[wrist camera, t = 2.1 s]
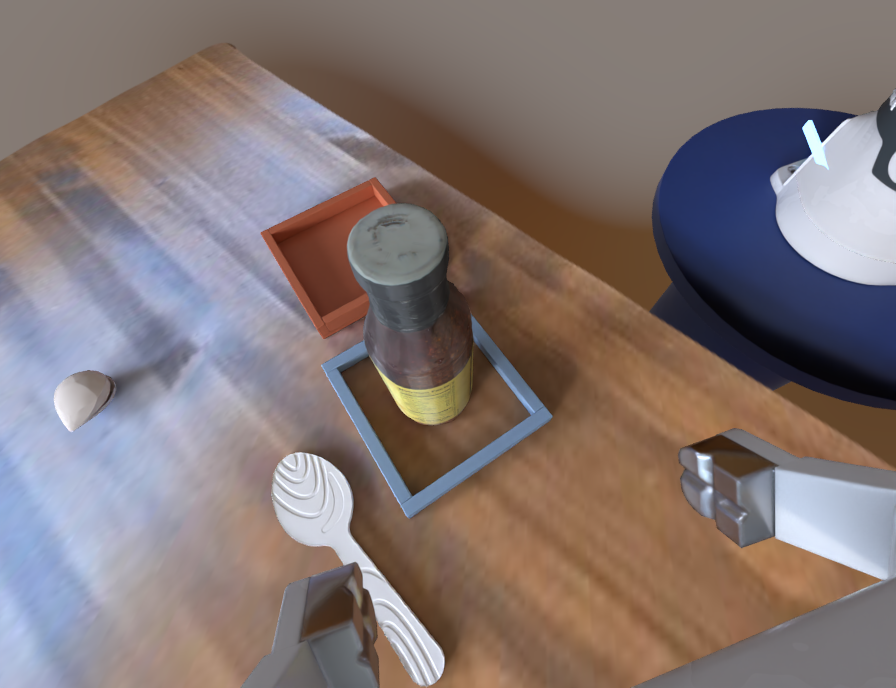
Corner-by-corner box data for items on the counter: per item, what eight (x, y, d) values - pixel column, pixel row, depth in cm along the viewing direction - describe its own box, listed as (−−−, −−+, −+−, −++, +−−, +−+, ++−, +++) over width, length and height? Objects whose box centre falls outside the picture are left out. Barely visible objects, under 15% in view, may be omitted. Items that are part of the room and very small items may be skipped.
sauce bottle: (412, 349, 36) (361, 156, 18) (481, 370, 35) (499, 187, 17) (382, 419, 34) (289, 274, 16) (456, 444, 32) (446, 320, 15)
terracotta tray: (378, 191, 44) (375, 176, 43) (443, 272, 40) (442, 259, 38) (268, 246, 42) (259, 232, 40) (323, 339, 37) (316, 328, 35)
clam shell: (129, 376, 36) (107, 365, 34) (110, 434, 34) (85, 426, 32) (80, 378, 36) (54, 367, 34) (58, 436, 34) (29, 428, 32)
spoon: (404, 715, 25) (403, 718, 25) (255, 483, 32) (252, 482, 31) (470, 644, 27) (470, 646, 26) (314, 435, 33) (312, 434, 33)
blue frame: (452, 296, 38) (451, 289, 37) (550, 420, 33) (553, 416, 32) (324, 370, 36) (320, 364, 35) (409, 518, 30) (407, 517, 29)
